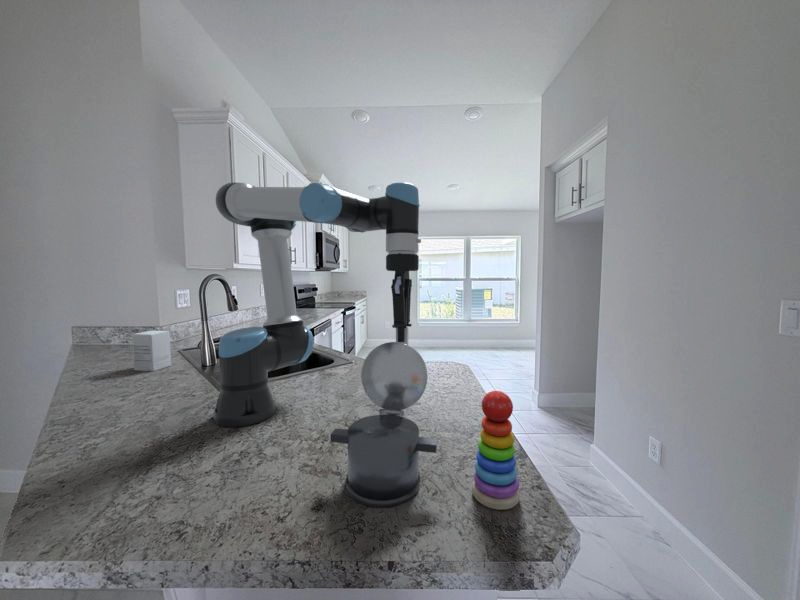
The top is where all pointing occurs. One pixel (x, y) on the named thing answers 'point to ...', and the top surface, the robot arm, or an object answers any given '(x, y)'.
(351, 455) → the pot
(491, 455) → the stacking toy
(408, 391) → the lid
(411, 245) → the robot arm
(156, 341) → the supplement box
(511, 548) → the top surface
